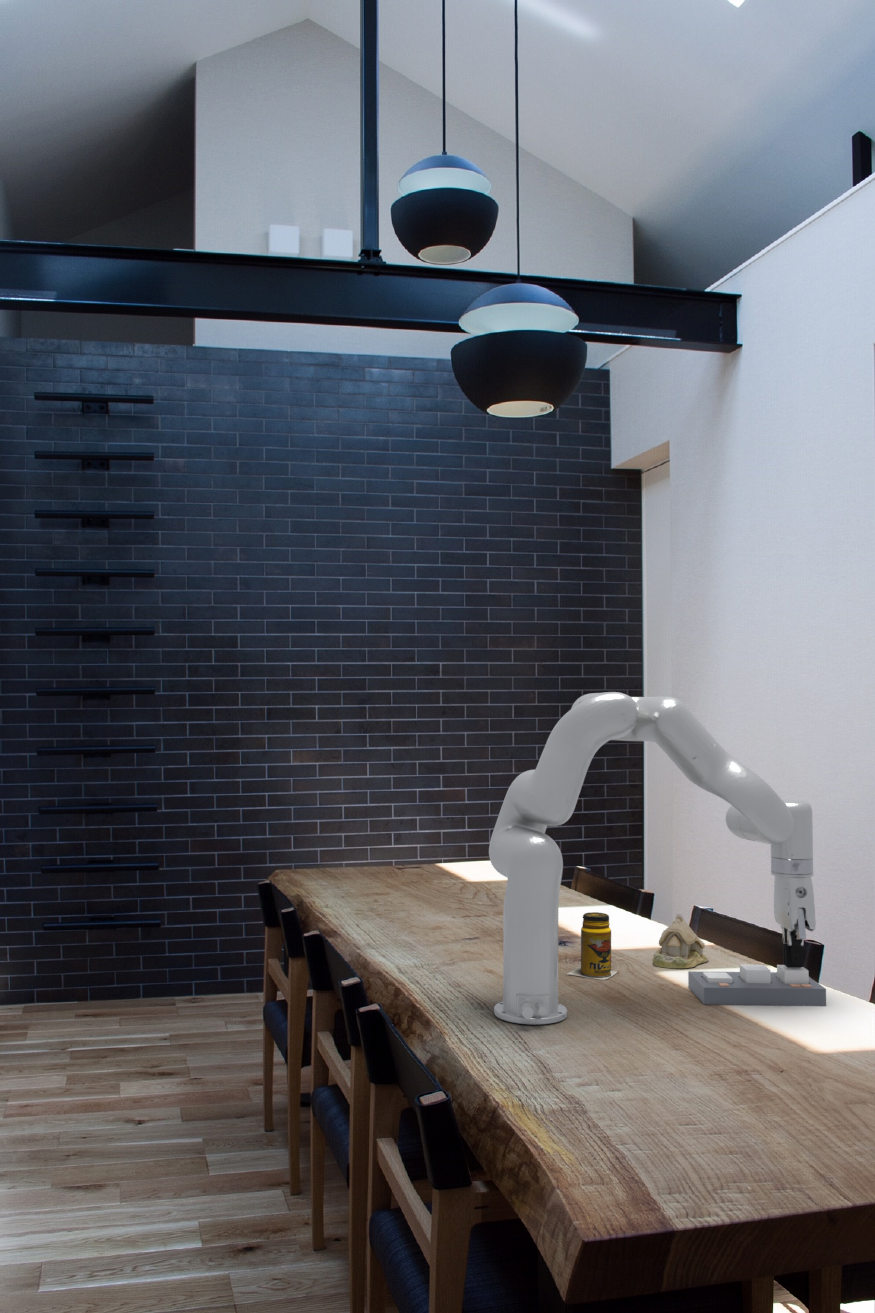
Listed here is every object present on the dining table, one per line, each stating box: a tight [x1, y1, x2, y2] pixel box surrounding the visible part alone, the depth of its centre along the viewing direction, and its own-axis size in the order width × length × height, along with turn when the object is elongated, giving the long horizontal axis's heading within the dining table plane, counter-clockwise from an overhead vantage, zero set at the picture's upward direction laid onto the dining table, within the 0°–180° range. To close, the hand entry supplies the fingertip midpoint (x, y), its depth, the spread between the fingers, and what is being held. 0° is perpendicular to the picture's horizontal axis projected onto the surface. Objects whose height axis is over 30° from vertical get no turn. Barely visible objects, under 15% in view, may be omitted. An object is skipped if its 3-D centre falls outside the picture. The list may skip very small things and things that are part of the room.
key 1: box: [776, 964, 810, 984], centre depth 196 cm, size 4×4×4 cm
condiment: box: [566, 911, 618, 981], centre depth 212 cm, size 7×8×12 cm
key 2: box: [739, 963, 772, 983], centre depth 196 cm, size 4×4×4 cm
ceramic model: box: [652, 913, 709, 969], centre depth 224 cm, size 14×11×10 cm
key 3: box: [702, 971, 733, 983], centre depth 196 cm, size 4×4×4 cm
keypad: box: [687, 970, 827, 1007], centre depth 196 cm, size 12×22×3 cm, turn 90°
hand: (793, 966), depth 196 cm, fingers closed
